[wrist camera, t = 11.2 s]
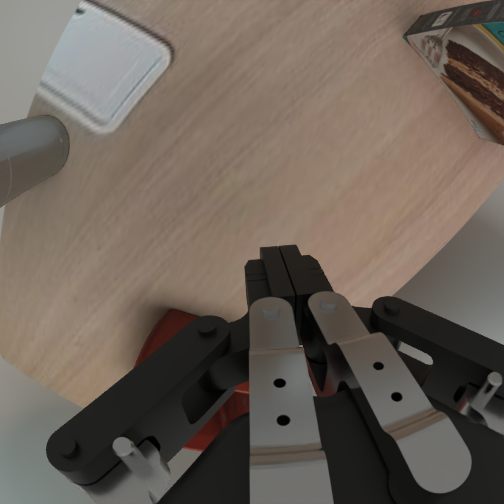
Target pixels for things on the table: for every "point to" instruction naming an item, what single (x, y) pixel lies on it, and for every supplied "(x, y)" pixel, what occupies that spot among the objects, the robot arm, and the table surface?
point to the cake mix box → (467, 60)
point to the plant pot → (228, 411)
